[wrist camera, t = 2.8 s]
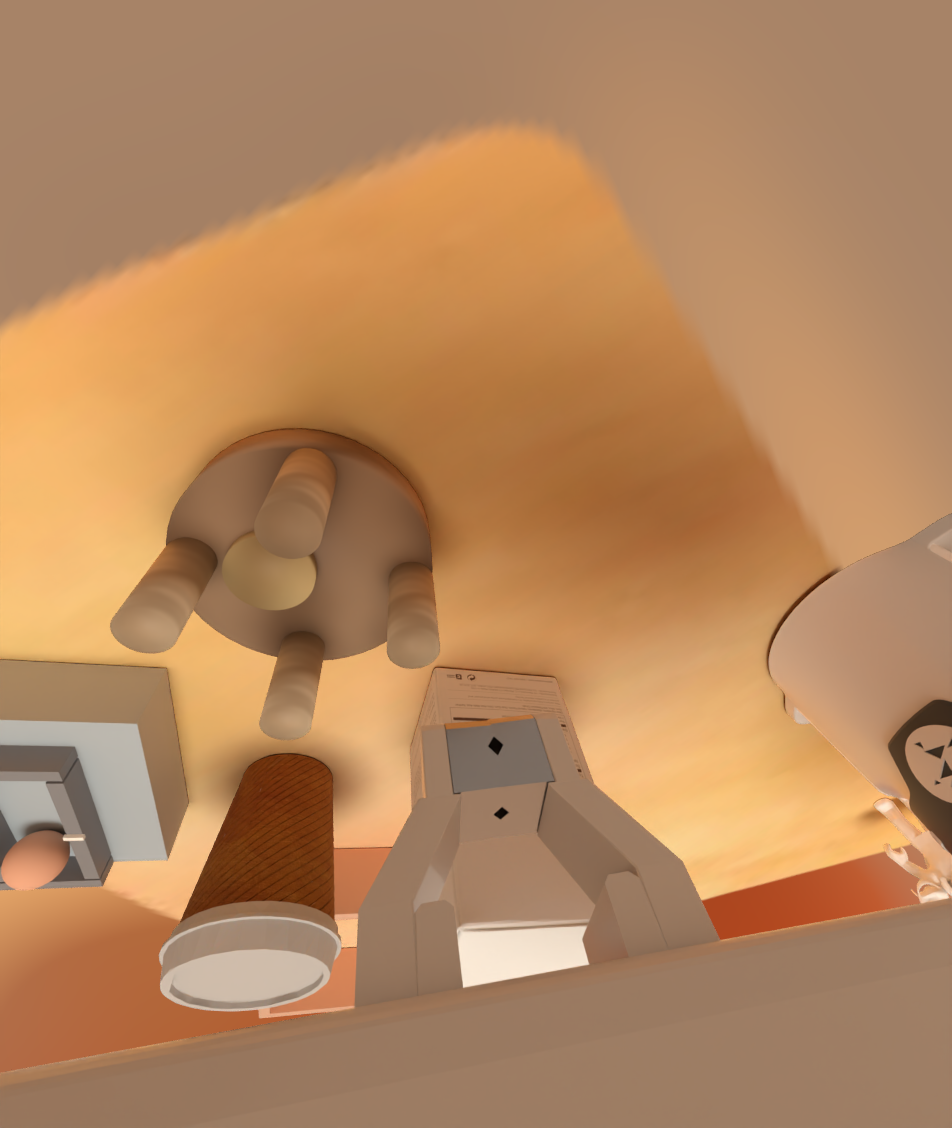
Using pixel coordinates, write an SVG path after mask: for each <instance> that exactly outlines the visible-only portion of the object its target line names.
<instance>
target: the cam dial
mask: <svg viewBox="0 0 952 1128" xmlns="http://www.w3.org/2000/svg"><path fill="white" fill-rule="evenodd" d="M193 610H194V611H195V612H196V613H197V614H198V615H199V616H200V617H201V618H202V619H203V620H204V621H205V622H206V623H207V624H209V625H210V626H211V627H212V628H214V629H215V630H216V631H218V632H219V633H221V634H222V635H224V636H225V637H227V638H229V639H230V640H232V641H234V642H236V643H238V644H240V645H242V646H245V647H247V648H250V649H252V650H255V651H257V652H261V653H264V654H267V655H271V656H275V657H278V658H277V662H276V665H275V669H274V672H273V676H272V679H271V683H270V686H269V690H268V693H267V697H266V700H265V704H264V707H263V711H262V715H261V718H260V722H259V725H260V728H261V730H262V731H263V732H264V733H265V734H266V735H268V736H270V737H272V738H275V739H279V740H294V739H298V738H301V737H303V736H304V735H306V734H307V733H308V732H309V731H310V729H311V725H312V719H313V713H314V708H315V702H316V696H317V691H318V685H319V679H320V674H321V668H322V662H323V660H334V659H339V658H345V657H349V656H353V655H357V654H360V653H363V652H366V651H368V650H371V649H373V648H375V647H377V646H379V645H381V644H383V643H385V642H387V654H388V657H389V659H390V660H391V661H392V662H393V663H394V664H396V665H398V666H400V667H403V668H409V669H415V668H421V667H424V666H427V665H429V664H430V663H432V662H433V661H434V660H435V659H436V658H437V657H438V655H439V652H440V642H439V632H438V622H437V612H436V603H435V593H434V583H433V575H432V552H431V543H430V533H429V527H428V522H427V517H426V514H425V511H424V508H423V505H422V503H421V501H420V499H419V498H418V496H417V494H416V492H415V490H414V489H413V488H412V486H411V485H410V483H409V482H408V480H407V479H406V478H405V477H404V476H403V475H402V474H401V473H400V472H399V471H398V469H397V468H396V467H394V466H393V465H392V464H391V463H390V462H388V461H387V460H386V459H385V458H384V457H382V456H380V455H379V454H377V453H376V452H374V451H373V450H371V449H370V448H368V447H366V446H364V445H362V444H360V443H358V442H356V441H353V440H351V439H348V438H345V437H342V436H339V435H336V434H331V433H327V432H323V431H317V430H307V429H282V430H275V431H269V432H264V433H260V434H257V435H254V436H250V437H247V438H245V439H243V440H241V441H239V442H236V443H234V444H233V445H231V446H229V447H228V448H226V449H225V450H223V451H222V452H220V453H219V454H218V455H217V456H216V457H215V458H214V459H212V460H211V461H210V462H209V463H208V464H207V466H206V467H205V468H204V469H203V470H202V472H201V473H200V474H199V475H198V476H197V478H196V479H195V480H194V481H193V482H192V484H191V485H190V486H189V487H188V489H187V490H186V491H185V492H184V494H183V495H182V496H181V497H180V499H179V501H178V503H177V505H176V506H175V508H174V510H173V512H172V515H171V518H170V521H169V525H168V530H167V538H166V547H165V548H164V550H163V551H162V552H161V554H160V555H159V556H158V558H157V559H156V560H155V562H154V563H153V564H152V566H151V567H150V569H149V570H148V571H147V573H146V574H145V575H144V577H143V578H142V579H141V581H140V582H139V583H138V585H137V586H136V587H135V589H134V590H133V591H132V593H131V594H130V595H129V597H128V598H127V599H126V601H125V602H124V603H123V605H122V606H121V608H120V609H119V610H118V612H117V613H116V614H115V616H114V617H113V618H112V620H111V623H110V628H111V632H112V634H113V636H114V637H115V638H116V639H117V641H119V642H120V643H121V644H122V645H124V646H126V647H127V648H129V649H132V650H134V651H138V652H142V653H160V652H164V651H166V650H168V649H170V648H171V647H173V646H174V644H175V643H176V641H177V639H178V637H179V636H180V634H181V632H182V630H183V628H184V626H185V625H186V623H187V621H188V619H189V617H190V615H191V614H192V612H193Z"/></svg>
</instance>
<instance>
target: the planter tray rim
mask: <svg viewBox="0 0 952 1128" xmlns="http://www.w3.org/2000/svg"><path fill="white" fill-rule="evenodd" d="M391 849H392V848H357V849H334V889H335V890H334V898H335V901H334V908H335V914H334V915H335V920H348V919H358V910H359V908H360V907H361V905H362V903H363V901H364V899H365V897H366V895H367V894H368V892H369V890H370V888H371V886H372V884H373V882H374V881H375V879H376V877H377V875H378V873H379V871H380V869H381V868H382V866H383V864H384V862H385V860H386V858H387V856H388V855H389V853H390V851H391ZM356 957H357V947H354V948H341V951H340V954H339V955H338V957H337V958H336V959H335V960H334V963H333V967H332V971H331V975H330V979H329V980H328V982H327V984H326V985H324V986H323V987H322V988H320V989H319V990H318V991H317V992H315V993H314V994H312V995H310V996H308V997H306V998H303V999H300V1000H298V1001H295V1002H291V1003H288V1004H284V1005H280V1006H276V1007H271V1008H265V1009H259V1018H267V1017H277V1016H288V1015H297V1014H308V1013H318V1012H330V1011H339V1010H344V1009H350V1008H354V1004H355V980H356Z"/></svg>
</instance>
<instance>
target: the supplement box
mask: <svg viewBox="0 0 952 1128" xmlns="http://www.w3.org/2000/svg"><path fill="white" fill-rule="evenodd" d="M545 713H555V714H556V715H557V716H558V719H559V721H560V724H561V727H562V729H563V732H564V735H565V738H566V740H567V743H568V746H569V748H570V751H571V754H572V756H573V759H574V762H575V765H576V767H577V770H578V773H579V775H580V778H581V779H583V778H588V779H589V780H590V781H591V782H592V783H593V784H594V782H593V779H592V777H591V774H590V771H589V768H588V766H587V763H586V760H585V757H584V754H583V752H582V749H581V746H580V743H579V741H578V738H577V735H576V732H575V730H574V727H573V724H572V721H571V719H570V716H569V713H568V710H567V708H566V705H565V702H564V699H563V697H562V694H561V691H560V688H559V686H558V683H557V680H556V678H553V677H542V676H530V675H518V674H507V673H496V672H484V671H472V670H459V669H447V668H435V669H434V671H433V674H432V677H431V680H430V684H429V687H428V690H427V694H426V697H425V701H424V704H423V708H422V711H421V714H420V718H419V721H418V725H417V728H416V732H415V735H414V738H413V742H412V745H411V749H410V768H411V801H412V810H413V808H414V806H415V805H416V803H417V801H418V799H420V798H423V790H422V771H421V736H420V727H421V726H422V725H433V724H445V723H458V722H472V721H486V720H488V719H495V718H504V717H513V716H522V715H530V714H531V715H536V714H545ZM537 834H538V833H533V834H524V835H515V836H506V837H497V838H491V839H485V840H479V841H473V842H467V843H461V844H459V848H458V851H457V853H456V856H455V859H454V861H453V864H452V866H451V869H450V871H449V874H448V877H447V879H446V882H445V884H444V887H443V889H442V892H441V895H440V897H439V900H438V901H440V900H446V901H447V902H449V903H450V904H451V905H452V906H454V912H455V920H456V929H457V938H458V946H459V955H460V964H461V973H462V981H463V988H464V987H469V986H475V985H480V984H486V983H491V982H496V981H502V980H507V979H513V978H518V977H524V976H529V975H534V974H540V973H545V972H551V971H556V970H562V969H567V968H573V967H578V966H583V965H589V962H588V959H587V955H586V952H585V948H584V944H583V941H582V938H583V935H584V933H585V930H586V928H587V925H588V923H589V921H590V918H591V916H592V913H593V911H594V908H595V904H594V903H593V902H592V901H591V900H590V898H589V897H588V896H587V895H586V894H585V892H584V891H583V890H582V889H581V888H580V886H579V885H578V884H577V883H576V881H575V880H574V879H573V878H572V877H571V875H570V874H569V873H568V872H567V871H566V869H565V868H564V867H563V866H562V865H561V863H560V862H559V861H558V860H557V859H556V857H555V856H554V855H553V854H552V852H551V851H550V850H549V849H548V848H547V846H546V845H545V844H544V843H543V842H542V840H541V839H540V838H539V837H538V836H537Z"/></svg>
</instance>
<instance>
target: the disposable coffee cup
mask: <svg viewBox="0 0 952 1128" xmlns="http://www.w3.org/2000/svg"><path fill="white" fill-rule="evenodd" d="M333 831H334V830H333V778H332V774H331V772H330V770H329V769H328V768H327V767H326V766H325V765H324V764H322V763H321V762H319V761H317V760H315V759H313V758H310V757H306V756H302V755H295V754H282V755H274V756H269V757H266V758H263V759H260V760H258V761H256V762H255V763H253V764H252V765H251V766H249V767H248V769H247V770H246V772H245V773H244V776H243V778H242V781H241V783H240V786H239V788H238V790H237V792H236V795H235V797H234V799H233V802H232V804H231V806H230V808H229V811H228V813H227V815H226V818H225V820H224V822H223V824H222V827H221V829H220V832H219V834H218V836H217V838H216V841H215V843H214V845H213V848H212V850H211V852H210V854H209V857H208V859H207V861H206V864H205V866H204V868H203V871H202V873H201V875H200V877H199V880H198V882H197V884H196V886H195V889H194V891H193V894H192V896H191V898H190V900H189V903H188V905H187V908H186V910H185V912H184V914H183V917H182V919H181V921H180V924H178V926H177V927H176V928H175V929H174V930H173V932H172V934H171V936H170V937H169V939H168V940H167V941H166V942H165V943H164V944H163V946H162V949H161V951H160V954H159V959H160V963H161V965H162V973H161V982H160V990H161V992H162V993H163V995H164V996H166V997H167V998H168V999H170V1000H172V1001H173V1002H175V1003H177V1004H181V1005H184V1006H188V1007H191V1008H197V1009H202V1010H213V1011H246V1010H256V1009H265V1008H271V1007H276V1006H280V1005H284V1004H288V1003H291V1002H295V1001H298V1000H300V999H303V998H306V997H308V996H310V995H312V994H314V993H315V992H317V991H318V990H319V989H320V988H322V987H323V986H324V985H326V984H327V982H328V980H329V979H330V975H331V971H332V967H333V963H334V960H335V959H336V958H337V957H338V955H339V954H340V951H341V937H340V935H339V934H338V927H337V924H336V922H335V915H334V914H335V908H334V901H335V898H334V890H335V889H334V845H333V841H334V838H333Z"/></svg>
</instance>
